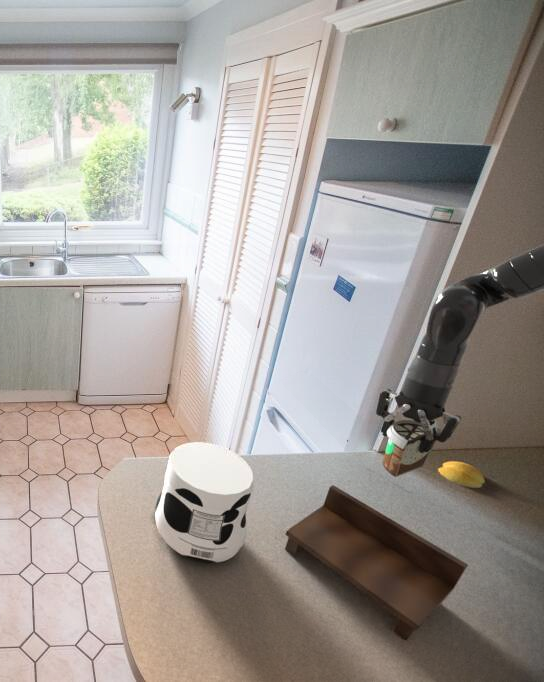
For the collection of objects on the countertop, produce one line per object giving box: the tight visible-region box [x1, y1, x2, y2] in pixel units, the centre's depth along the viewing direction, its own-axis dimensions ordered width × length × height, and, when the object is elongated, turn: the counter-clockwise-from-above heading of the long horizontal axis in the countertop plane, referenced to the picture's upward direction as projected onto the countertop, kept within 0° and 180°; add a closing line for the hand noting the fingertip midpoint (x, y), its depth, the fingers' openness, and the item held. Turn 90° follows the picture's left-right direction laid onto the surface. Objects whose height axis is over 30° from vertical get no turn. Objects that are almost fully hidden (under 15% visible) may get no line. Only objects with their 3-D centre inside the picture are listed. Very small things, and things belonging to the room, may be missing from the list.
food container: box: [382, 419, 443, 478], centre depth 101 cm, size 12×6×10 cm, turn 111°
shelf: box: [284, 484, 469, 642], centre depth 83 cm, size 22×14×10 cm, turn 31°
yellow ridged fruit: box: [437, 461, 486, 489], centre depth 107 cm, size 8×9×4 cm
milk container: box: [154, 441, 254, 564], centre depth 90 cm, size 17×17×18 cm
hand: (403, 442), depth 101 cm, fingers closed on food container, 6 cm apart
